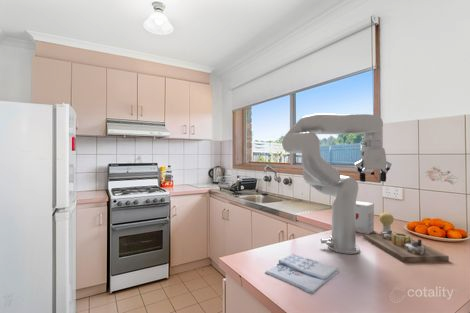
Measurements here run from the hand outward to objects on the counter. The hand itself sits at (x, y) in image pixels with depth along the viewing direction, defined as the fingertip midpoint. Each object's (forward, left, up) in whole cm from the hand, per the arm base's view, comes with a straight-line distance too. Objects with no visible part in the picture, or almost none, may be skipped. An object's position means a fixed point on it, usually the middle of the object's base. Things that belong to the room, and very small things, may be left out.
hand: (372, 181), depth 113 cm
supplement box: (+4, +16, -29) cm, 33 cm away
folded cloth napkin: (-43, -28, -29) cm, 59 cm away
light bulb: (+16, +14, -28) cm, 36 cm away
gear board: (+7, -9, -28) cm, 31 cm away
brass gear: (+7, -9, -26) cm, 29 cm away
